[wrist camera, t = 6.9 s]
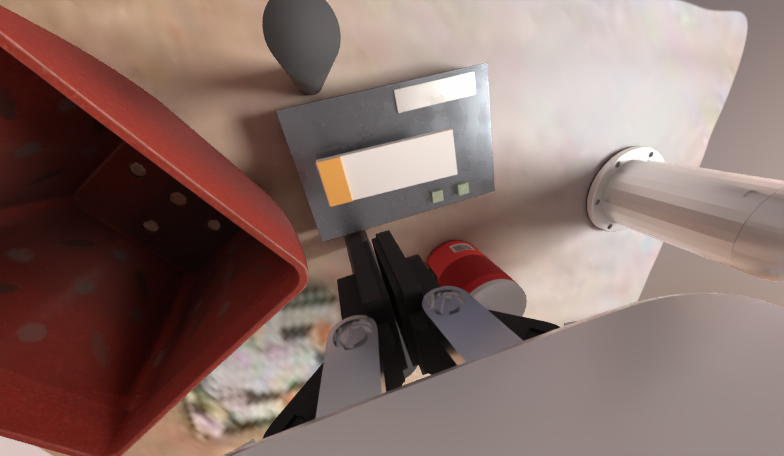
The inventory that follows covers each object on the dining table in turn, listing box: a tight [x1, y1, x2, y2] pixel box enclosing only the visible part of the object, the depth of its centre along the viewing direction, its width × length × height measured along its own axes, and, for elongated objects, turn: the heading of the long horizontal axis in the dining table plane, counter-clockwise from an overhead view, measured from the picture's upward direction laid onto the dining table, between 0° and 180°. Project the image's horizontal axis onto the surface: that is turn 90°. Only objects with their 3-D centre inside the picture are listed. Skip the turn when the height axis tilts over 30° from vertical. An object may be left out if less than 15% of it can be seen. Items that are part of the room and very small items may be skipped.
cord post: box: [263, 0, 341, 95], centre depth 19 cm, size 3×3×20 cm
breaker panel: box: [276, 63, 495, 242], centre depth 30 cm, size 20×13×6 cm, turn 102°
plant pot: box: [0, 6, 309, 456], centre depth 22 cm, size 19×19×17 cm
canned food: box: [426, 240, 527, 317], centre depth 36 cm, size 8×8×11 cm
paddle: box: [315, 128, 458, 207], centre depth 26 cm, size 12×4×1 cm, turn 102°
